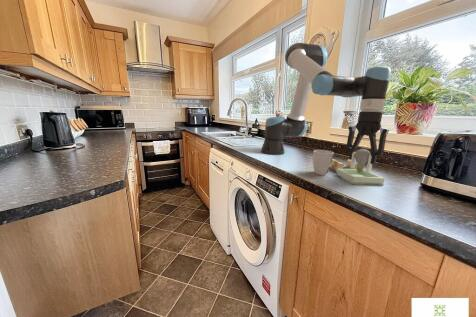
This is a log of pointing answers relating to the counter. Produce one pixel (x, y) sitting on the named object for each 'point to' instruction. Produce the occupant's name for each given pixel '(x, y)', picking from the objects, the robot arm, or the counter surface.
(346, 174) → the dish
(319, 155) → the cup
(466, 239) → the counter surface
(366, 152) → the light bulb
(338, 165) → the holder
